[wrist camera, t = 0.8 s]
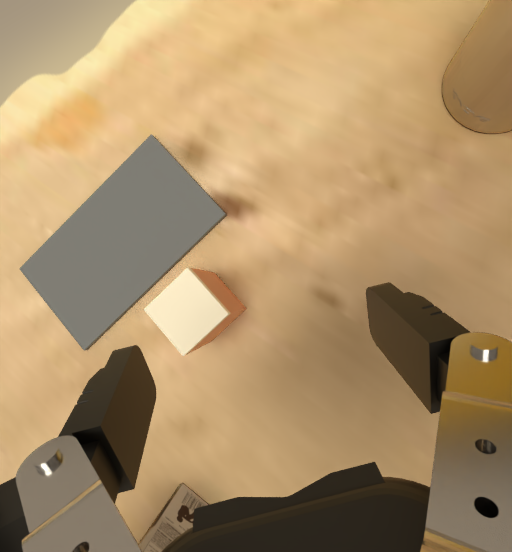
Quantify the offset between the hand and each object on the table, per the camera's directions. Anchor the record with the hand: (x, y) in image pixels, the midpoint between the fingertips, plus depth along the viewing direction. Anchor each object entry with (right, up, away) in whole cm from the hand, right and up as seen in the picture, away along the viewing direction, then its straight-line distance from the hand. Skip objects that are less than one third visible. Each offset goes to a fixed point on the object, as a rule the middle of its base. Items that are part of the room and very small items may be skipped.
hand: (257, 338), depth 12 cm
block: (-4, -1, +23) cm, 23 cm away
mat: (-15, +6, +25) cm, 29 cm away
